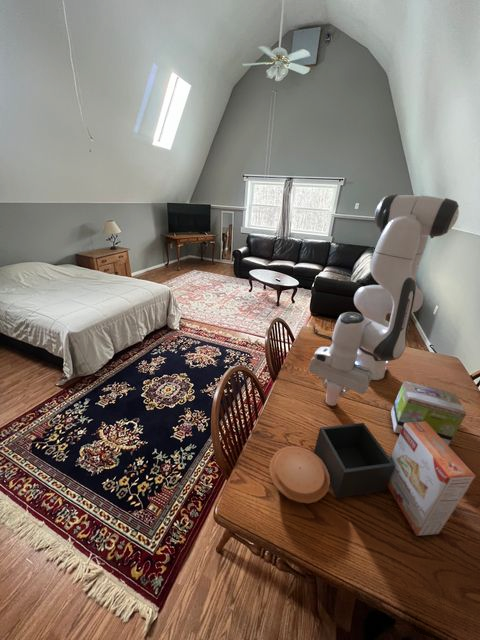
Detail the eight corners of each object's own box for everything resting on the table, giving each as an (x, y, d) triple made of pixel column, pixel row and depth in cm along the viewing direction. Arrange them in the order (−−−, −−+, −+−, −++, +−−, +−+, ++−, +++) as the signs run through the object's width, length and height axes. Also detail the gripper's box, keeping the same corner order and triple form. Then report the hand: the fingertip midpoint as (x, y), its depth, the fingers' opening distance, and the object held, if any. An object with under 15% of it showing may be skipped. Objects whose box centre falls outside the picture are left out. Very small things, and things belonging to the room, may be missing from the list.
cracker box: (380, 477, 73) (403, 420, 64) (400, 476, 73) (426, 420, 64) (414, 537, 60) (449, 476, 51) (439, 535, 61) (478, 475, 52)
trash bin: (314, 451, 79) (319, 427, 75) (355, 446, 82) (363, 422, 77) (336, 498, 67) (344, 472, 63) (384, 490, 70) (395, 465, 65)
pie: (325, 461, 76) (328, 449, 74) (329, 519, 63) (333, 506, 61) (271, 449, 79) (273, 437, 77) (264, 502, 66) (266, 489, 63)
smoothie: (340, 398, 100) (348, 368, 94) (339, 410, 95) (348, 378, 89) (322, 394, 102) (329, 363, 96) (321, 405, 96) (328, 373, 90)
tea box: (393, 433, 87) (407, 398, 80) (390, 412, 95) (402, 379, 89) (448, 449, 82) (467, 413, 76) (439, 426, 90) (456, 391, 84)
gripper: (376, 366, 87) (366, 399, 93) (316, 345, 98) (310, 375, 104) (372, 375, 82) (361, 409, 88) (309, 352, 93) (303, 384, 99)
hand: (333, 391), depth 96 cm, fingers closed on smoothie, 5 cm apart
